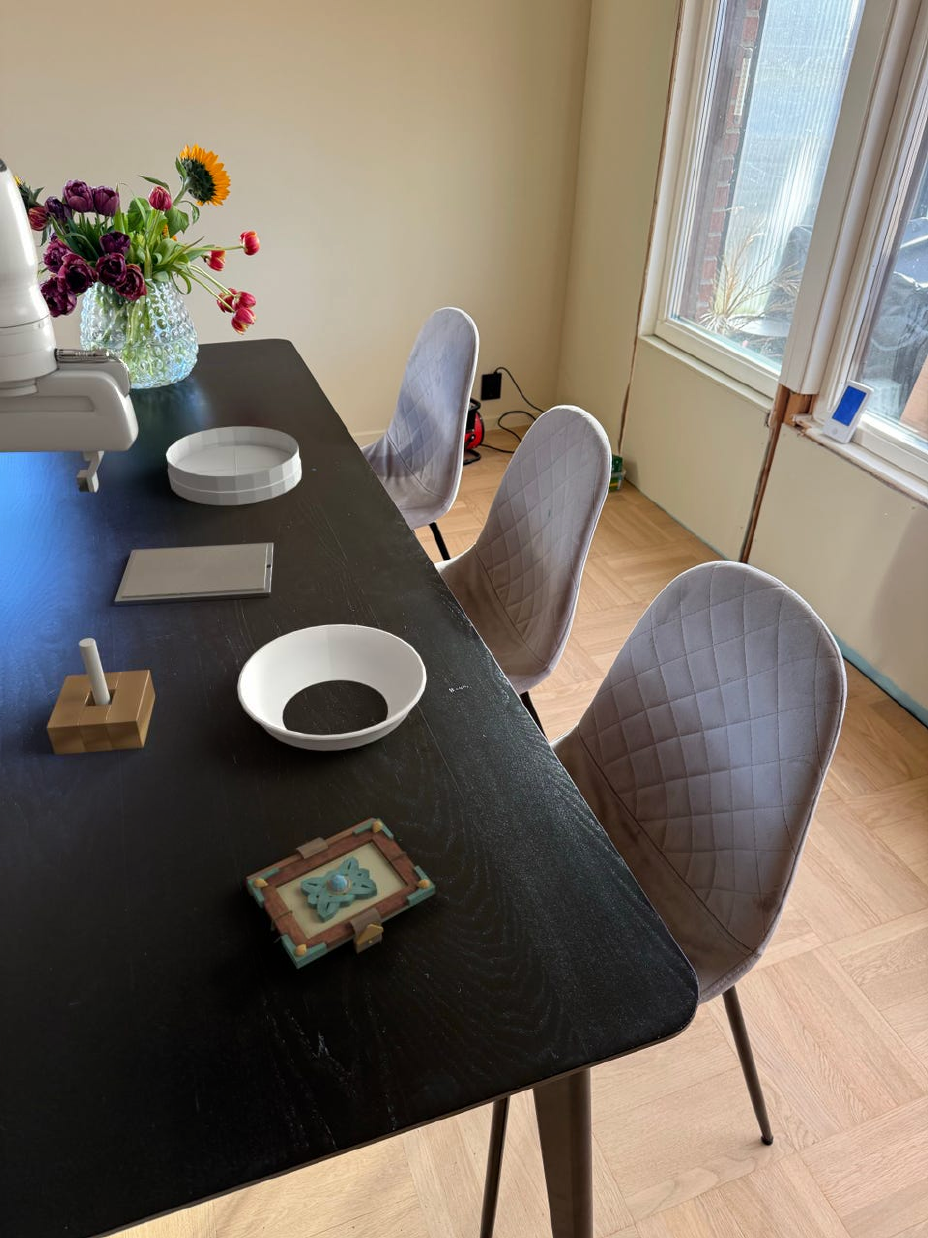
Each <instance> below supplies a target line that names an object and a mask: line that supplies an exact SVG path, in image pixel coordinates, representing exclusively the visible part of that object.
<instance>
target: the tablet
mask: <svg viewBox="0 0 928 1238" xmlns="http://www.w3.org/2000/svg"><path fill="white" fill-rule="evenodd" d="M274 548H275V547H274V542H259V543H242V544H224V545H223V544H222V545H220V544H219V545H204V546H203V545H202V546H185V547H182V546H181V547H164V548H163V547H162V548H143V549H132V550H131V552H130V555H129V558H128V561H127V564H126V567H125V570H124V573H123V575H122V578H121V582H120V584H119V587H118V590H117V593H116V595H115V597H114V598H115V599H114V606H115V607H124V606H141V605H159V604H172V603H189V602H190V603H191V602H206V601H222V600H223V601H224V600H236V599H237V600H240V599H256V598H257V599H258V598H259V599H260V598H271V594H272V580H273V566H274V565H273V563H274Z"/></svg>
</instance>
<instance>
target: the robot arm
mask: <svg viewBox="0 0 928 1238" xmlns="http://www.w3.org/2000/svg"><path fill="white" fill-rule="evenodd" d="M34 239H35V238H34V236H33V231H32V228H31V223H30V220H29V217H28V213H27V209H26V207H25V203H24V200H23V197H22V194H21V191H20V188H19V187H18V183H17V181H16V179H15V178H14V175H13V174H12V171H11V169H10V168H9V167H8V165H7V164H6V163H5V161H3V159H2V158H0V453H54V452H55V453H60V452H61V453H64V452H66V453H68V452H69V453H70V452H71V453H73V452H82V455H83V459H84V461H85V462H90V464H89V466H88V468H87V469H80V470H79V471H78V474H77V475H76V477H75V479H76V483H77V485H78V486H79V487H78V491H79V493H82V494H83V493H97V491H98V490H99V479H98V475H97V471H98V468H99V465H100V464H101V462H102V459H103V457H104V455H105V452H124V451H128V450H129V449H130V448H131V447H132V446H133V444H134V443H135V441H137V438H138V435H139V425H138V420H137V416H136V413H135V409H134V405H133V402H132V399H131V396H130V393H131V390H132V381H131V374H130V369H129V367H128V365H127V364H126V362H125V361H124V360H123V359H122V358H121V357H119V356H118V355H116V354H112V353H110V351H109V350H108V349H103V348H101V349H100V348H96V349H92V350H91V349H90V350H89V349H88V350H87V349H77V348H76V349H75V348H58V345H57V339H56V336H55V335H56V334H55V330H54V326H53V322H52V317H51V314H50V308H49V306H48V304H47V301H46V299H45V298H44V296H43V294H42V291H41V289H40V285H39V277H38V274H39V273H38V272H39V257H38V252H37V248H36V244H35V240H34Z"/></svg>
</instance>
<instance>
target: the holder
mask: <svg viewBox="0 0 928 1238" xmlns="http://www.w3.org/2000/svg"><path fill="white" fill-rule="evenodd" d="M103 673H104V677H105V681H106V685H107V689H108V692H109V696H110V700H111V705H100V706H96V705H95V701H94V697H93V694H92V690H91V686H90V683H89V679H88V675H87V673H85V674H74V675H66V676H65V678H64V682H63V684H62V686H61V689H60V691H59V694H58V696H57V699H56V702H55V704H54V707H53V710H52V713H51V714H50V715H51V716H50V718H49V720H48V723H47V726H46V731H47V734H48V737H49V739H50V743H51V746H52V749H53V752H54V755H55V756H59V755H68V754H69V755H70V754H72V755H73V754H82V753H83V754H85V753H97V752H106V751H107V752H108V751H119V750H131V749H143V748H144V746H145V741H146V738H147V733H148V730H149V729H148V728H149V725H150V722H151V721H150V720H151V716H152V711H153V708H154V703H155V700H156V693H155V689H154V684H153V679H152V675H151V670H149V669H144V670H130V671H129V670H128V671H117V672H116V671H115V672H103Z"/></svg>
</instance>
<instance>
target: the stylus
mask: <svg viewBox="0 0 928 1238" xmlns="http://www.w3.org/2000/svg"><path fill="white" fill-rule="evenodd" d="M78 646H79V649H80V653H81V658H82V660H83V665H84V668H85V671H86V674H87V675H88V679H89V683H90V686H91V690H92V694H93V697H94V701H95V705H96V706H100V705H111V700H110V696H109V692H108V689H107V685H106V681H105V677H104V673H105V672H104V670H103V666H102V662H101V659H100V654H99V652H98V651H99V650H98V648H97V642H96V640H95V639H94V638H91V637H87V638H84V639H82V640H80V641H79V643H78Z"/></svg>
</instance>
